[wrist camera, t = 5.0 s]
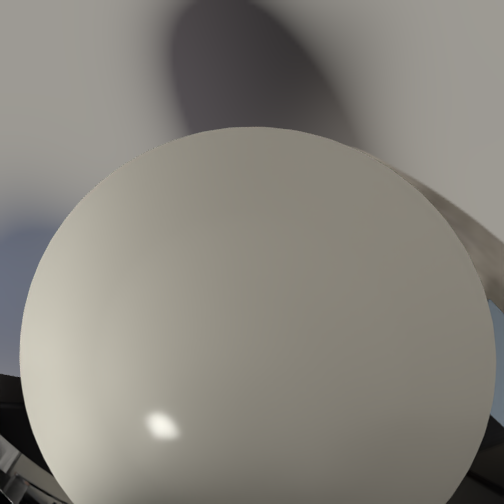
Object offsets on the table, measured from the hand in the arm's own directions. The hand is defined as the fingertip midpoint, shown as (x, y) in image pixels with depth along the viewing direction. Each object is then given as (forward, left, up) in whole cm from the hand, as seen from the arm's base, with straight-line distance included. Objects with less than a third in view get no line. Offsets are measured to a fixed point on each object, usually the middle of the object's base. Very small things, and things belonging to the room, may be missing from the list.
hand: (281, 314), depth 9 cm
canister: (-1, -1, -7) cm, 7 cm away
